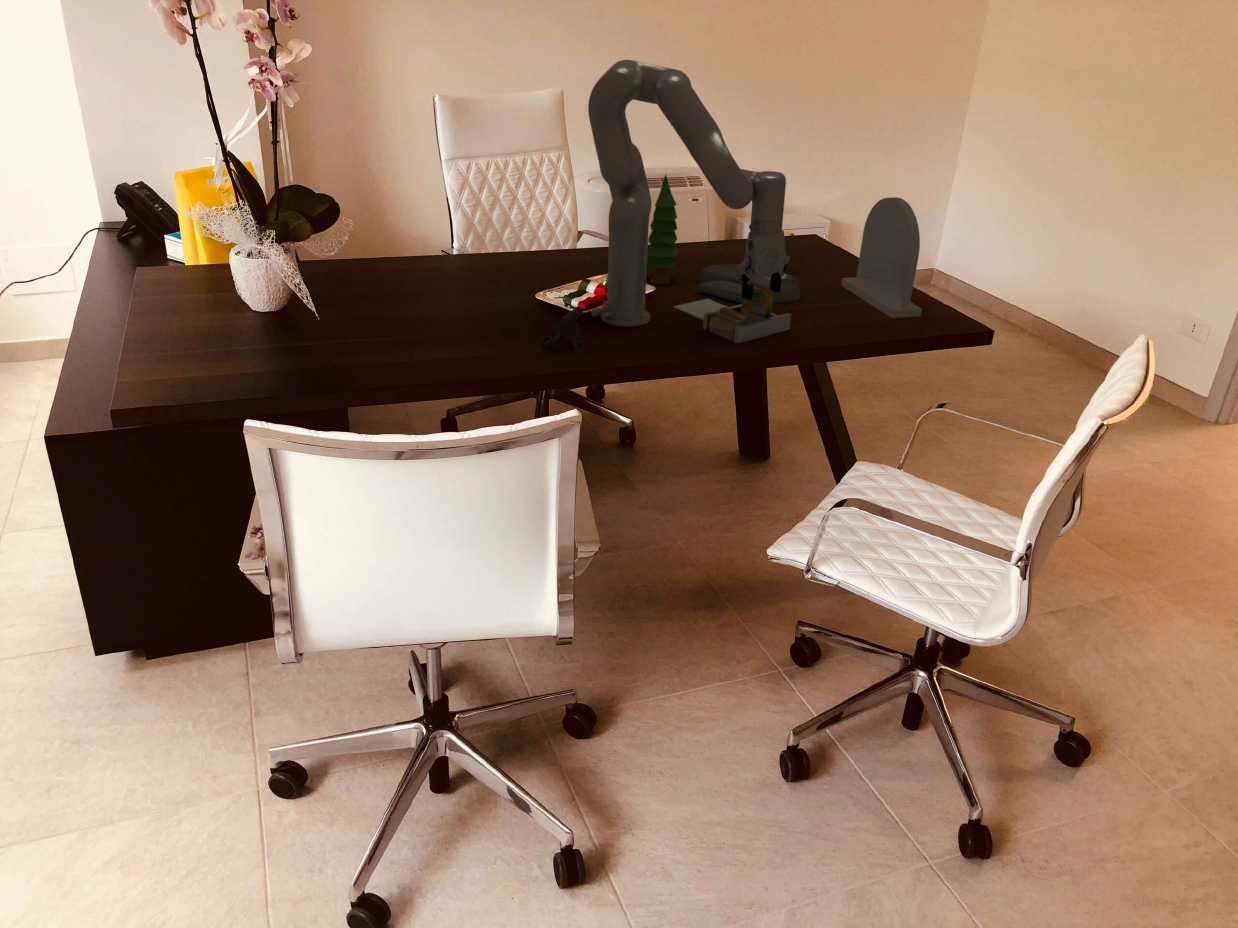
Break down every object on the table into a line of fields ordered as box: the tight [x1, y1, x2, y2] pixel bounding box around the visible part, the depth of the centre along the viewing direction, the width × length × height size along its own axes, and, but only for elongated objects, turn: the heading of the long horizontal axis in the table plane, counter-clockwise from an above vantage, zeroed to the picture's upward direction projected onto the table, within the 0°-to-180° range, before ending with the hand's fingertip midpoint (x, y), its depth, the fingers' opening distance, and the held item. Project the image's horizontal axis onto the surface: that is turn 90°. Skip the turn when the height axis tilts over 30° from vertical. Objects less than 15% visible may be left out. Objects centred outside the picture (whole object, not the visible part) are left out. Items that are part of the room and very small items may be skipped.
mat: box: [673, 298, 728, 321], centre depth 252 cm, size 12×12×1 cm
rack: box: [702, 303, 792, 344], centre depth 240 cm, size 18×12×4 cm
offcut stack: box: [708, 307, 747, 342], centre depth 236 cm, size 4×8×6 cm, turn 38°
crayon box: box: [741, 282, 774, 323], centre depth 240 cm, size 7×3×12 cm, turn 44°
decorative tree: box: [647, 174, 680, 285], centre depth 266 cm, size 10×9×30 cm
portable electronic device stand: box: [540, 306, 584, 351], centre depth 225 cm, size 9×8×8 cm
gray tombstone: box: [840, 196, 922, 319], centre depth 258 cm, size 28×9×28 cm, turn 17°
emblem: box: [696, 263, 801, 305], centre depth 267 cm, size 28×5×28 cm
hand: (760, 295), depth 238 cm, fingers open, 9 cm apart
